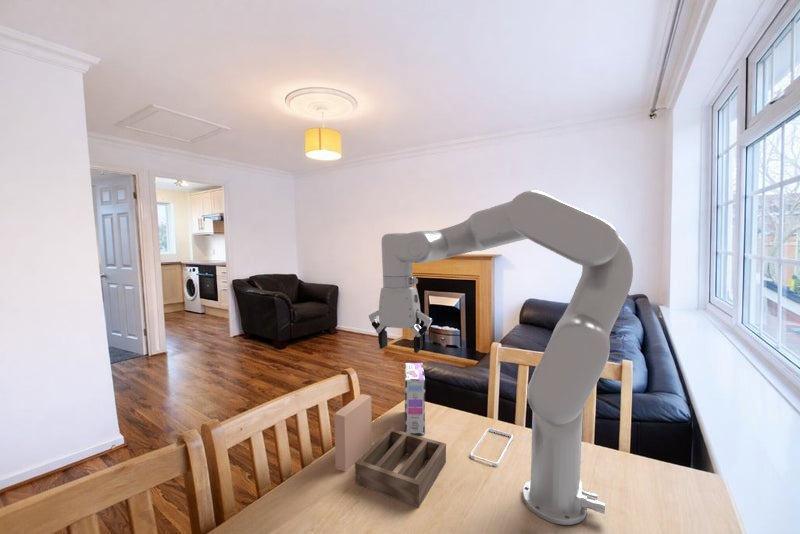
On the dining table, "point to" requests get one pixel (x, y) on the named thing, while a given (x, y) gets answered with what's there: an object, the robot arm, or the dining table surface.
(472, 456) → the phone case
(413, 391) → the candy box
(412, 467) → the slotted box
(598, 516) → the dining table surface
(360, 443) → the pink block
